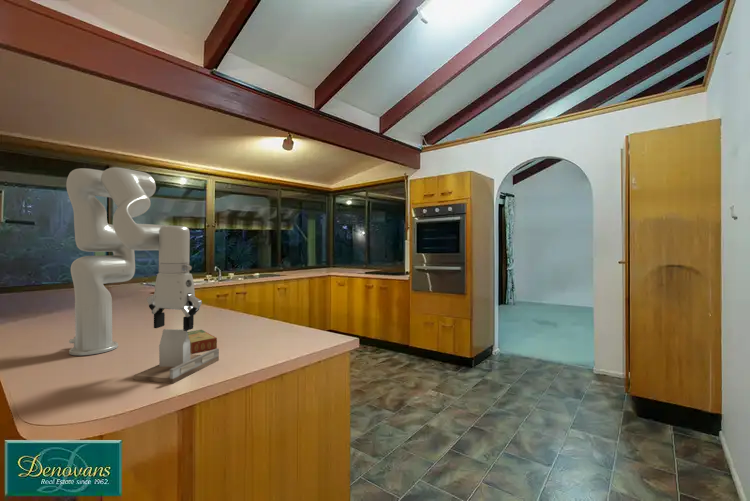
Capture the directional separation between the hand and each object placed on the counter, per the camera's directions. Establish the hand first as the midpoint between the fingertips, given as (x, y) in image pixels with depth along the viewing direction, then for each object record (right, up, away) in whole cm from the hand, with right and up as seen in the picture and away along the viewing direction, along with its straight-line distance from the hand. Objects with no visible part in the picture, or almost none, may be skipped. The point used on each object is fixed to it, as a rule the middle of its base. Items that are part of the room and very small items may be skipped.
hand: (173, 328), depth 97 cm
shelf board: (+2, -12, 0) cm, 12 cm away
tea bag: (0, -11, 0) cm, 11 cm away
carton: (-5, -12, +22) cm, 25 cm away
